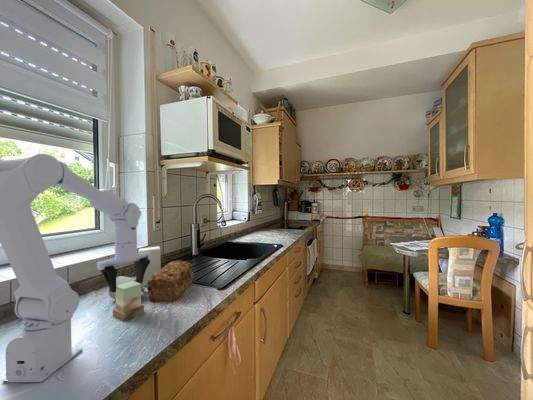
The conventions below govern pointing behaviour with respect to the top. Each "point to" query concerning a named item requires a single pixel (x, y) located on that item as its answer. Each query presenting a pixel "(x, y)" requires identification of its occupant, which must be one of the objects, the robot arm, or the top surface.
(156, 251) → the skincare box
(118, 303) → the beech block
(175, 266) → the bread
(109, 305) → the top surface
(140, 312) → the walnut slab
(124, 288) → the sage block
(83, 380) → the top surface
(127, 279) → the ceramic mug
